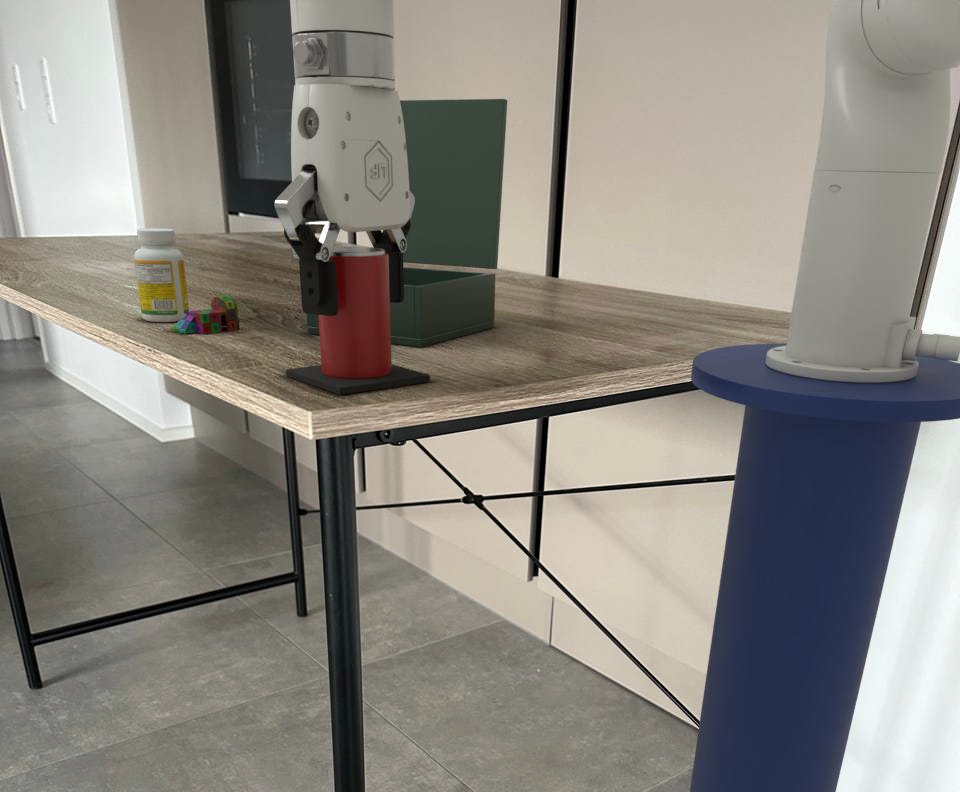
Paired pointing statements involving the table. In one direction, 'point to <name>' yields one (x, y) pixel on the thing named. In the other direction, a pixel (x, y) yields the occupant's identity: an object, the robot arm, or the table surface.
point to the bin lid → (455, 180)
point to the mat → (357, 380)
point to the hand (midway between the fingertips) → (355, 307)
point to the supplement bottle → (160, 276)
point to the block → (210, 318)
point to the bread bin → (437, 306)
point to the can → (358, 316)
